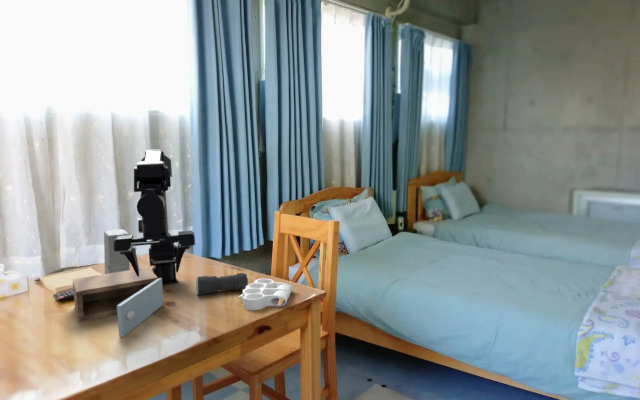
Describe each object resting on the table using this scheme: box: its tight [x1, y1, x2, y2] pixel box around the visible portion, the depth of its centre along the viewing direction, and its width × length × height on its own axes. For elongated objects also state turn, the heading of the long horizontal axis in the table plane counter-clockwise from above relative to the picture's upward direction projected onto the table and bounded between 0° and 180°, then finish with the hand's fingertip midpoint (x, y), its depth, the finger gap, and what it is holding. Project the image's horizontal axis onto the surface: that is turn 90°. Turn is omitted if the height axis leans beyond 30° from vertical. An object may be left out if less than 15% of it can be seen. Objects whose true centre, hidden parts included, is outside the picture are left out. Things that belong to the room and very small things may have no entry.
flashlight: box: [195, 272, 249, 296], centre depth 133 cm, size 15×5×5 cm, turn 108°
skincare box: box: [103, 228, 130, 274], centre depth 147 cm, size 8×7×16 cm
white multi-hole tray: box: [237, 278, 294, 311], centre depth 127 cm, size 3×18×15 cm
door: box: [116, 278, 164, 338], centre depth 112 cm, size 20×2×8 cm, turn 173°
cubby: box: [72, 266, 158, 323], centre depth 122 cm, size 20×12×8 cm, turn 123°
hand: (157, 273), depth 110 cm, fingers open, 9 cm apart
